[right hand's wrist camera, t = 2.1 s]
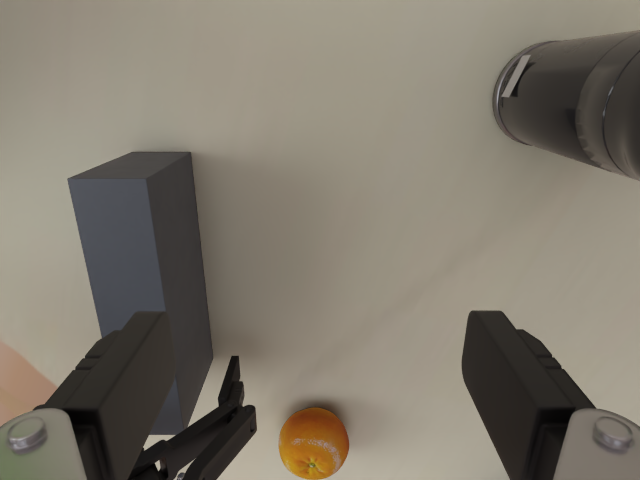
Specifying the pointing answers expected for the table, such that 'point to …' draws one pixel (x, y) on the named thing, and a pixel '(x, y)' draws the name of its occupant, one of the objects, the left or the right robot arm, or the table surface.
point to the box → (148, 261)
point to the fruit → (313, 443)
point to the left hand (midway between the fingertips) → (174, 365)
